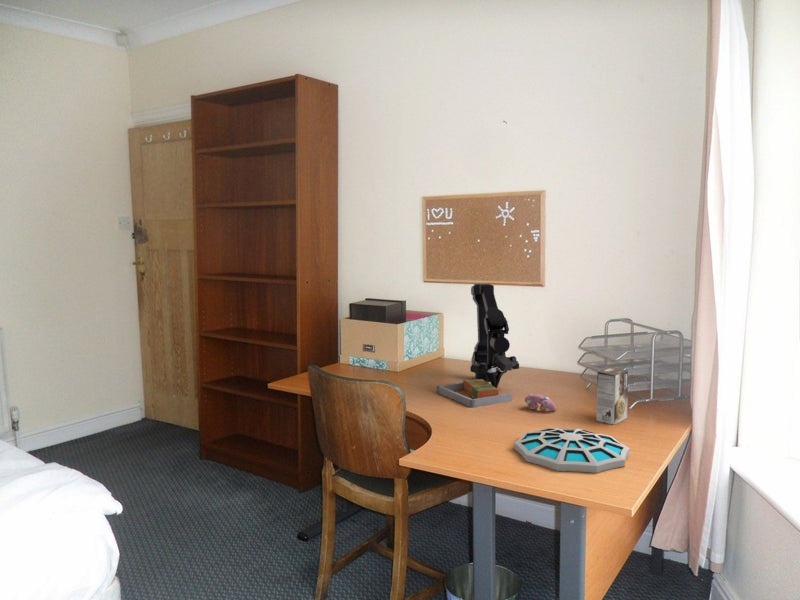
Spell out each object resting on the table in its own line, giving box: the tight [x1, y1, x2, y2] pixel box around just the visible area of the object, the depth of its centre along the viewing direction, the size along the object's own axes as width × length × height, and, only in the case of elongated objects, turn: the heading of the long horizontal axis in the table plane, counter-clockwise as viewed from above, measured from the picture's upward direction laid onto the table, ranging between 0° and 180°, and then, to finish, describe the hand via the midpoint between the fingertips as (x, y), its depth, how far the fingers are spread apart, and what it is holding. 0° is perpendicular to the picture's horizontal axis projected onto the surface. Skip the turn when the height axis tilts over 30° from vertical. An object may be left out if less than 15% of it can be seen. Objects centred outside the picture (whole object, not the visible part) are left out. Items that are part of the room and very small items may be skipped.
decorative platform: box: [513, 427, 631, 474], centre depth 168 cm, size 31×29×5 cm
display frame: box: [436, 381, 513, 408], centre depth 226 cm, size 23×17×2 cm
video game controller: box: [524, 393, 557, 412], centre depth 208 cm, size 10×5×7 cm, turn 48°
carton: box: [462, 379, 499, 399], centre depth 230 cm, size 8×16×4 cm, turn 14°
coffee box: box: [596, 366, 629, 426], centre depth 196 cm, size 9×6×16 cm
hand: (495, 389), depth 230 cm, fingers closed
